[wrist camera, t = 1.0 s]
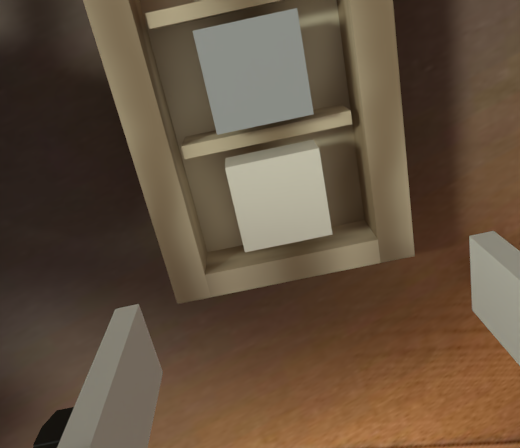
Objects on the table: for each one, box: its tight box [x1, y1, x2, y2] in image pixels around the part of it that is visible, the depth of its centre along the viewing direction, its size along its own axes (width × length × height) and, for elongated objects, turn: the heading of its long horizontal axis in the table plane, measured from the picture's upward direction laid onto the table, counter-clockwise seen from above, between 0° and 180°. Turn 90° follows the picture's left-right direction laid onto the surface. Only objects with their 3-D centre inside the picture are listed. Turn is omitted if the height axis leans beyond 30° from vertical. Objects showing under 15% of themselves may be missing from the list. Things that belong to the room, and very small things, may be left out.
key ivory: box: [225, 140, 333, 252], centre depth 26 cm, size 5×5×2 cm
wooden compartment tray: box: [83, 0, 415, 304], centre depth 24 cm, size 14×30×4 cm, turn 11°
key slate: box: [193, 8, 314, 135], centre depth 23 cm, size 5×5×2 cm
